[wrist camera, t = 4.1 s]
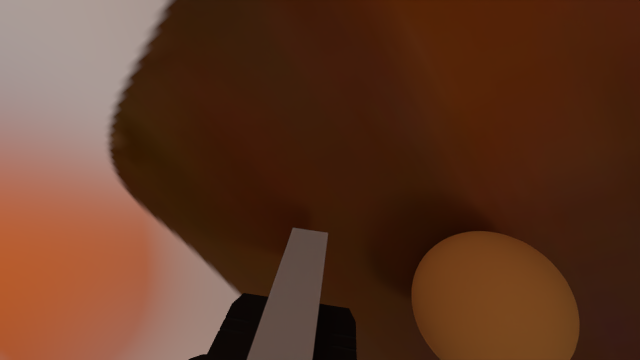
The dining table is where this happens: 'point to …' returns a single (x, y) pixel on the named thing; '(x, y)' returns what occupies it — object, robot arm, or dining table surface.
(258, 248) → the dining table surface
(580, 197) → the dining table surface
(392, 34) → the dining table surface
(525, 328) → the ball
